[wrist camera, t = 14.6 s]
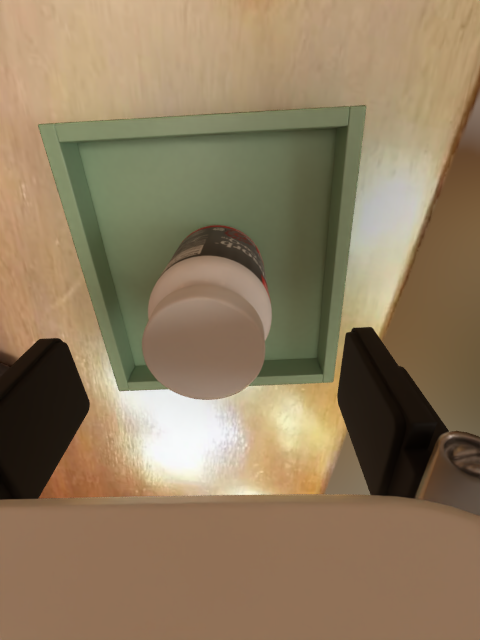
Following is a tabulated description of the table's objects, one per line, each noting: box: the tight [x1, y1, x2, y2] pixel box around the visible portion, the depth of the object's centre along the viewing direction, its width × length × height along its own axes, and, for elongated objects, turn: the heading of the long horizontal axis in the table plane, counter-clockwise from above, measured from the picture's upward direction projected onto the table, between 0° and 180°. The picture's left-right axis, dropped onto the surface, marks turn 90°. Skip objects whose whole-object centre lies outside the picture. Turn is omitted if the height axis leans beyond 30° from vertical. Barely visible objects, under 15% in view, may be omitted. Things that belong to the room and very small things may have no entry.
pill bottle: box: [142, 225, 272, 400], centre depth 16 cm, size 6×6×10 cm
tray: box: [38, 105, 366, 391], centre depth 20 cm, size 16×17×3 cm
